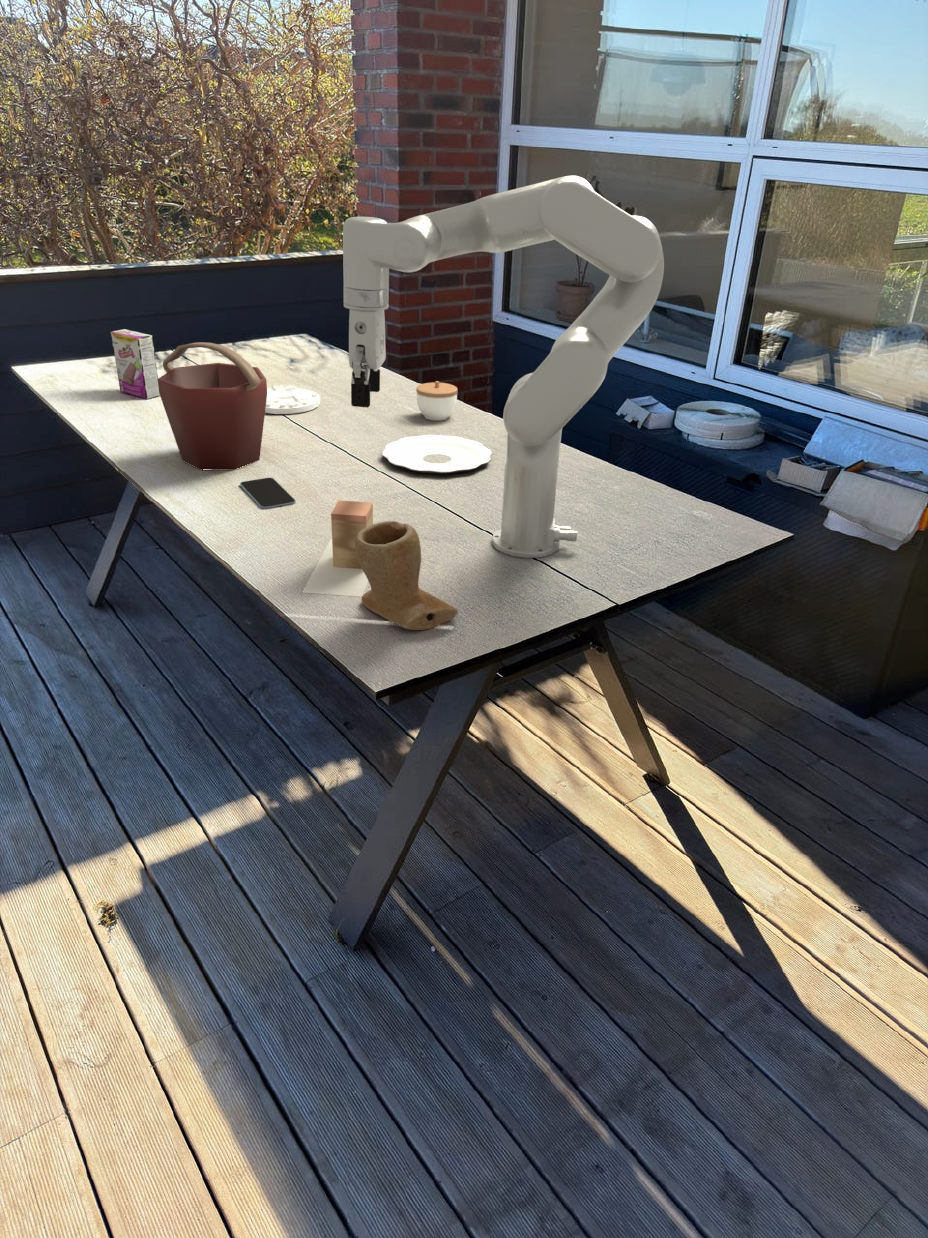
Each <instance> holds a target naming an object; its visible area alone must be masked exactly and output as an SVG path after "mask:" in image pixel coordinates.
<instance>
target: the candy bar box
mask: <svg viewBox="0 0 928 1238" xmlns="http://www.w3.org/2000/svg"><path fill="white" fill-rule="evenodd" d="M110 337H111V343H112V349H113V355H114V361H115V366H116V367H115V368H116V372H117V379H118V384H119V385H118V386H119V392H120V393H123V394H125V395H130V396H133V397H137V398H141V399H145V400H151V399H154V398H155V399H156V398H158V397H160V394H159V388H158V380H157V379H159V376H158V369H157V362H156V356H155V347H154V341H153V340H154V339H153V335H151V334H147V333H143V332H139V331H134V330H131V329H125V328H123V329H118V330H113V331H110Z"/></svg>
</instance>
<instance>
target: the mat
mask: <svg viewBox="0 0 928 1238" xmlns="http://www.w3.org/2000/svg"><path fill="white" fill-rule="evenodd" d="M368 583H369V581H368V579H367V577H366V575H365V573H364V572H363V570H362V569H355V568H341V567H333V548H332V537H331V538H330V540H329V541H328V544H327V545H326V547H325V549H324V551H323V553H322V555H321V556H320V558H319V560H318V562H317V564H316V565H315V568H313V571H312V573H311V575H310V576H309V579H308V580H307V582H306V584H305V586H304V588H303V590H302V591H301V593H303V594H316V595H332V596H343V597H355V598H362V596H363V595H364V594H365V590H366V588H367V586H368Z"/></svg>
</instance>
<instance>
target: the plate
mask: <svg viewBox="0 0 928 1238" xmlns="http://www.w3.org/2000/svg"><path fill="white" fill-rule="evenodd" d="M381 454H382V457H384V458H385V459H386V460H388V462H389V464H391V465H393V466H396V467H400V468H404V469H407V470H409V471H411V472H412V471H413V472H418V473H423V474H431V475H432V474H433V475H435V474H437V475H441V474H442V475H443V474H455V473H461V472H462V473H463V472H469V471H471V470H475V469H477V468H479V467H480V466H483V465H486V464H488V463H489V462H490V461H491V455H492V454H493V452H492V450H491V449H489V448H488V447H486V446H485V445H483V443H481V442H479V441H477V440H473V439H468V438H464V437H460V436H457V435H456V436H455V435H439V434H424V435H417V436H406V437H401V438H400V439H398V440H395V441H391V442H389V443H388V444H386V445H385V447H384V449H383V450H382V452H381ZM429 455H444V456H447V457H449V458H450V461H447V462H444V463H433V462H428V461H425V460H424V457H426V456H429Z"/></svg>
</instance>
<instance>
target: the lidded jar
mask: <svg viewBox="0 0 928 1238" xmlns="http://www.w3.org/2000/svg"><path fill="white" fill-rule="evenodd" d="M415 390H416V403H417V407H418V410H419V411H420V413H421V414H422V415H423V416H424V418H425V419H426V420H428V421H429V420H430V421H437V422H438V421H445V420H447V419H448V418H449V416H451V414H453V412H454V410H455V408H456V406H457V401H458V393H459V392H458V387H457V386H455V385H453V384H451V383H446V382H440V381H438V380H436V381H435V382H426V383H421V384H419V385H417V386H416V388H415Z"/></svg>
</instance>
